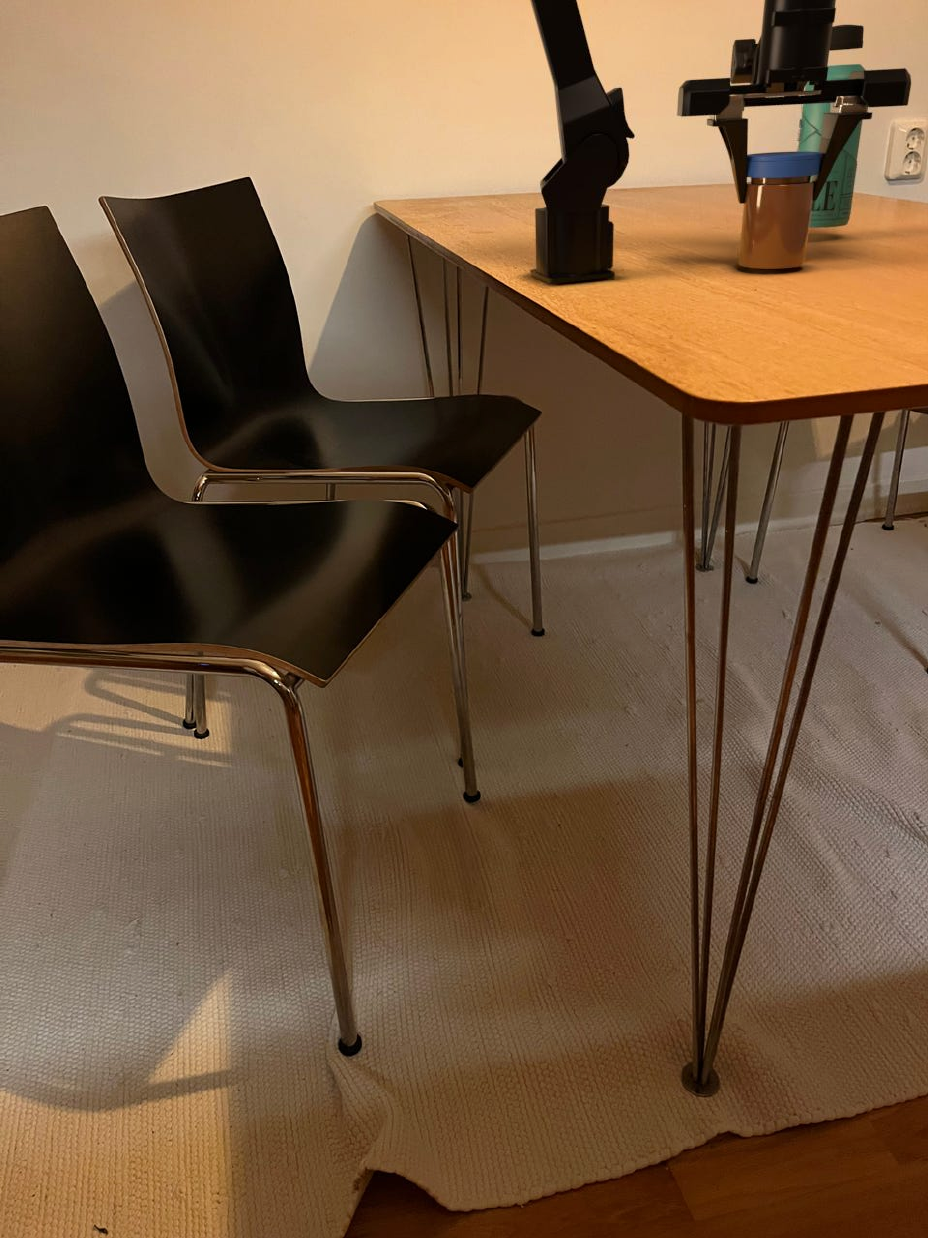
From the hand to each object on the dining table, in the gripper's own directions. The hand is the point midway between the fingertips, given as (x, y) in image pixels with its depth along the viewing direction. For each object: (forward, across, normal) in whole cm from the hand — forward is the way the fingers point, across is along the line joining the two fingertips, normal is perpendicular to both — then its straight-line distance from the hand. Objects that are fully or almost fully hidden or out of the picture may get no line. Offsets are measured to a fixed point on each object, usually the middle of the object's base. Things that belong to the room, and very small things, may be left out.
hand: (777, 201), depth 84 cm
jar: (+5, 0, 0) cm, 5 cm away
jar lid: (-4, 0, 0) cm, 4 cm away
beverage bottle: (+6, -8, -18) cm, 21 cm away
